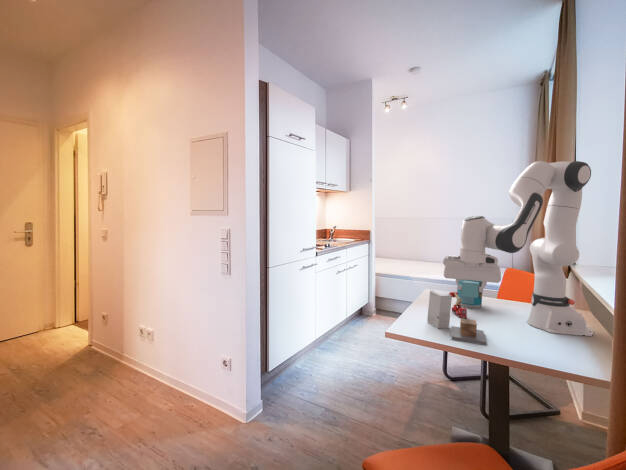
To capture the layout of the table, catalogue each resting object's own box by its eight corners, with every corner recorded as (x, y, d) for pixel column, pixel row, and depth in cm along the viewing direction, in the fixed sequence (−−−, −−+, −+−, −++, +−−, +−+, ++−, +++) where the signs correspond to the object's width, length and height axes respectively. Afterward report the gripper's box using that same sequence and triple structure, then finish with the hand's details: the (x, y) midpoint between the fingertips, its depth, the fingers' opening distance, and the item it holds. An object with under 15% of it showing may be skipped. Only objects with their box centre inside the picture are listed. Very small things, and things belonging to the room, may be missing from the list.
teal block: (478, 294, 124) (479, 282, 123) (477, 297, 119) (477, 285, 118) (463, 292, 126) (464, 280, 126) (461, 295, 122) (462, 283, 121)
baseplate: (482, 333, 127) (483, 330, 127) (486, 345, 116) (486, 342, 116) (451, 328, 132) (451, 325, 132) (451, 339, 121) (451, 336, 121)
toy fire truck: (460, 318, 144) (461, 298, 143) (448, 309, 158) (449, 291, 157) (467, 319, 144) (468, 299, 143) (454, 309, 158) (455, 291, 157)
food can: (452, 301, 171) (454, 270, 169) (473, 301, 171) (475, 270, 170) (463, 308, 159) (465, 274, 157) (486, 308, 159) (488, 274, 158)
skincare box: (426, 322, 140) (428, 290, 138) (438, 320, 141) (439, 289, 140) (438, 329, 132) (440, 295, 130) (450, 327, 133) (452, 294, 132)
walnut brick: (474, 332, 126) (475, 320, 125) (476, 337, 121) (476, 324, 120) (460, 329, 128) (460, 318, 127) (460, 334, 123) (461, 322, 122)
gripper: (443, 256, 123) (442, 290, 124) (502, 260, 115) (500, 296, 116) (443, 254, 128) (442, 286, 130) (500, 257, 120) (498, 292, 121)
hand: (470, 291), depth 123 cm, fingers closed on teal block, 6 cm apart
